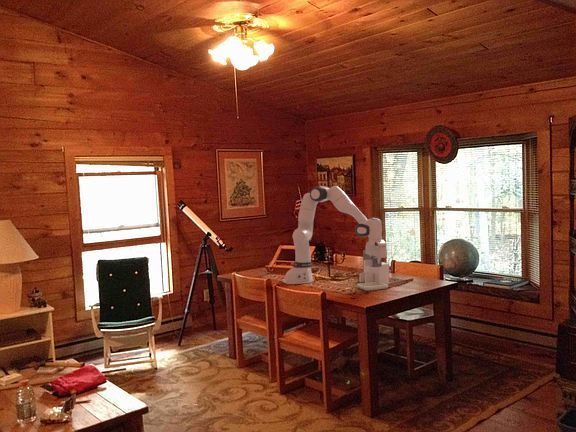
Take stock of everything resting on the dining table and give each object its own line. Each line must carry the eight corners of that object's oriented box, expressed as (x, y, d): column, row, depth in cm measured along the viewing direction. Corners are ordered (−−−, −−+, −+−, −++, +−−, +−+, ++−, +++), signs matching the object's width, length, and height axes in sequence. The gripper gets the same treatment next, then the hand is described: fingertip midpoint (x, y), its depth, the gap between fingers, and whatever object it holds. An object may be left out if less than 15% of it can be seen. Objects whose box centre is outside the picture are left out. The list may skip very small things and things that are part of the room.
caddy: (367, 268, 360) (367, 259, 359) (363, 266, 364) (363, 258, 364) (381, 266, 364) (381, 257, 364) (377, 265, 369) (377, 256, 369)
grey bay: (370, 285, 372) (370, 265, 371) (355, 280, 390) (355, 261, 389) (389, 283, 378) (389, 263, 377) (373, 278, 396) (373, 259, 395)
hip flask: (362, 273, 417) (362, 247, 415) (365, 272, 420) (365, 247, 418) (378, 276, 405) (378, 249, 404) (382, 275, 408) (382, 249, 406)
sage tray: (366, 291, 357) (366, 287, 356) (356, 287, 367) (356, 283, 367) (388, 288, 364) (388, 284, 363) (378, 285, 374) (378, 281, 374)
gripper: (362, 240, 372) (363, 260, 373) (379, 244, 354) (380, 265, 355) (370, 240, 375) (370, 260, 376) (388, 243, 356) (388, 264, 357)
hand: (375, 262), depth 365 cm, fingers closed on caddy, 5 cm apart
